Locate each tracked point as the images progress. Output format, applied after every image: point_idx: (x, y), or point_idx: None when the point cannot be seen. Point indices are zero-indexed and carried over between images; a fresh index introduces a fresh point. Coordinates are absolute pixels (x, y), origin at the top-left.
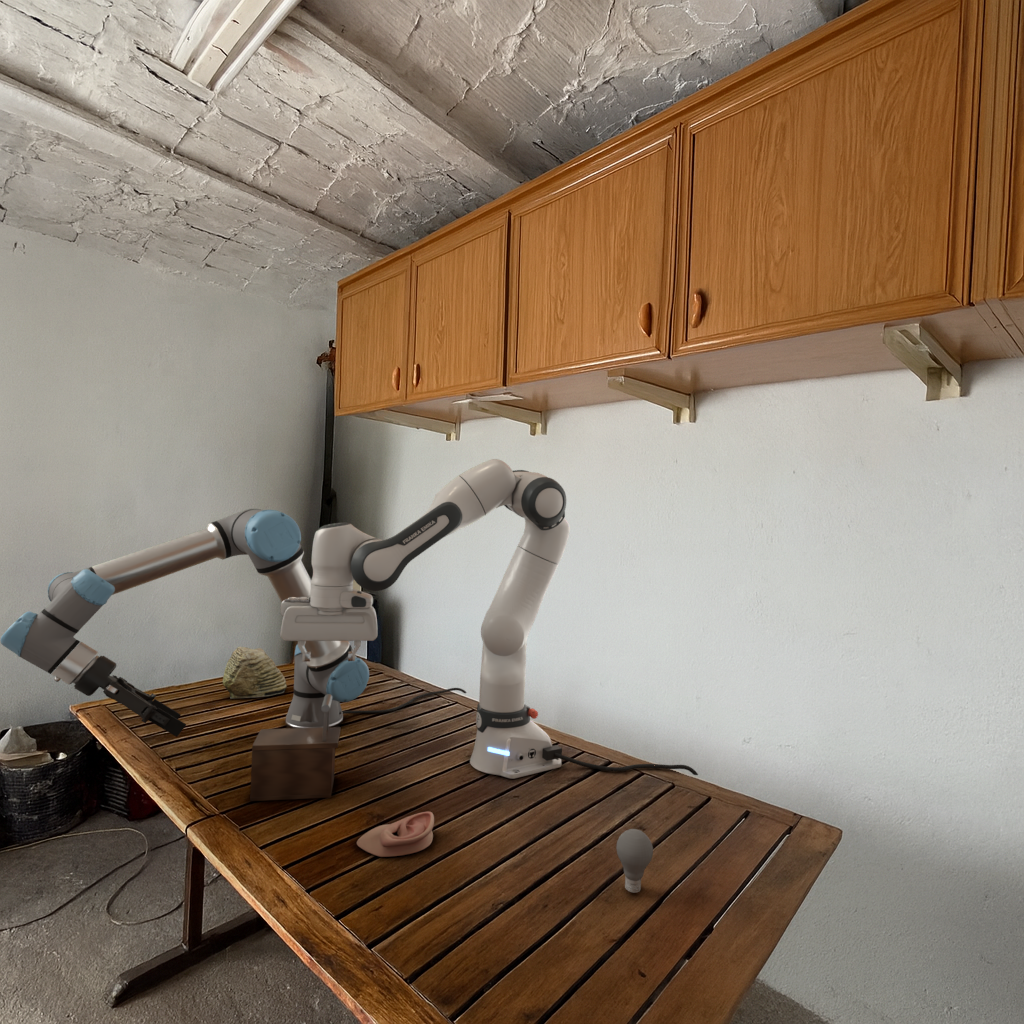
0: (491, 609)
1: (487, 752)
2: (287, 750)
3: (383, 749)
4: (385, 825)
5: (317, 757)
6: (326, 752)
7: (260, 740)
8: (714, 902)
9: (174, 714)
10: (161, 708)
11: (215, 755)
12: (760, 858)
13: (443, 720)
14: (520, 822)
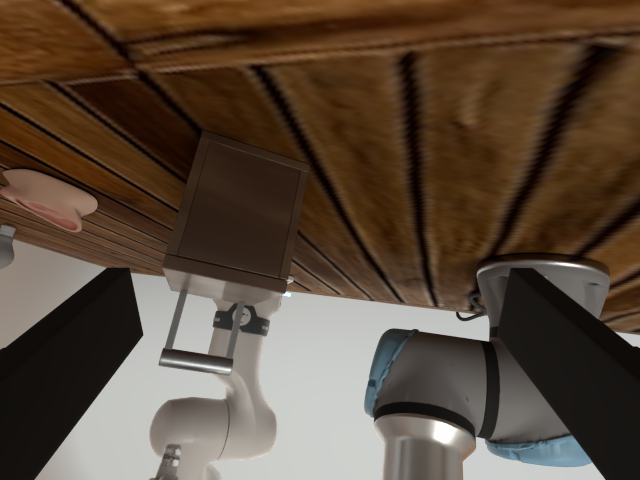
0: (180, 463)
1: None
2: None
3: (346, 258)
4: (72, 201)
5: None
6: None
7: (199, 277)
8: None
9: (516, 341)
10: (577, 407)
11: (579, 156)
12: (77, 254)
13: (394, 292)
14: (119, 237)
